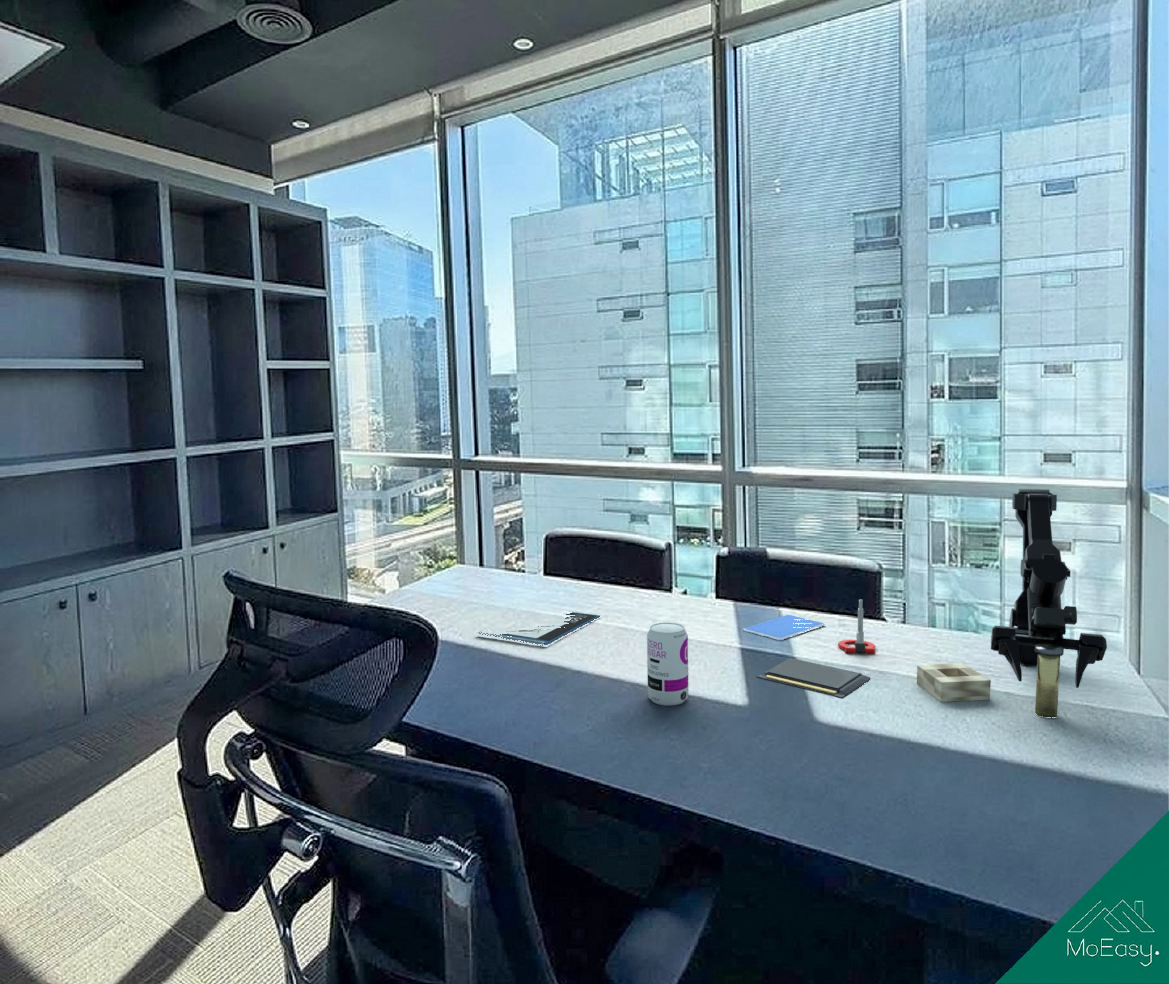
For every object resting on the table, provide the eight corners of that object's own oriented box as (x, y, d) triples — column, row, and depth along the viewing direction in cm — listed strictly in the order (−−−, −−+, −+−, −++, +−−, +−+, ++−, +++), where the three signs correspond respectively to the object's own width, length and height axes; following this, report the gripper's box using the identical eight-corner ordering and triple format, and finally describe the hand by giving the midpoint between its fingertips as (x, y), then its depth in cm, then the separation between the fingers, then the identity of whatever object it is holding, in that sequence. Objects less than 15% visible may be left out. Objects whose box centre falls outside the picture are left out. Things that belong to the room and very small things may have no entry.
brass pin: (1049, 709, 150) (1053, 643, 149) (1066, 719, 146) (1069, 651, 144) (1026, 710, 150) (1029, 644, 148) (1042, 720, 145) (1045, 652, 144)
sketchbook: (600, 620, 220) (600, 612, 220) (544, 651, 194) (544, 643, 194) (535, 611, 230) (535, 604, 230) (474, 639, 204) (473, 632, 204)
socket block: (962, 681, 166) (963, 663, 165) (989, 699, 156) (990, 680, 155) (916, 683, 165) (917, 665, 165) (940, 701, 155) (941, 682, 155)
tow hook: (835, 643, 194) (841, 654, 185) (836, 592, 193) (842, 600, 184) (871, 644, 193) (879, 655, 183) (871, 592, 192) (880, 600, 182)
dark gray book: (873, 673, 168) (841, 693, 157) (873, 681, 169) (841, 702, 158) (789, 653, 182) (754, 671, 171) (789, 661, 182) (754, 679, 171)
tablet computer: (780, 643, 195) (780, 638, 195) (741, 632, 205) (741, 627, 205) (826, 628, 207) (826, 623, 207) (787, 618, 217) (787, 613, 217)
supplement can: (691, 693, 163) (691, 623, 161) (683, 708, 155) (682, 635, 153) (653, 689, 165) (652, 620, 164) (643, 704, 158) (642, 632, 156)
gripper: (993, 585, 152) (994, 657, 144) (1108, 593, 145) (1116, 670, 136) (990, 614, 160) (991, 684, 152) (1098, 623, 153) (1105, 697, 144)
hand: (1048, 683), depth 146 cm, fingers open, 9 cm apart
